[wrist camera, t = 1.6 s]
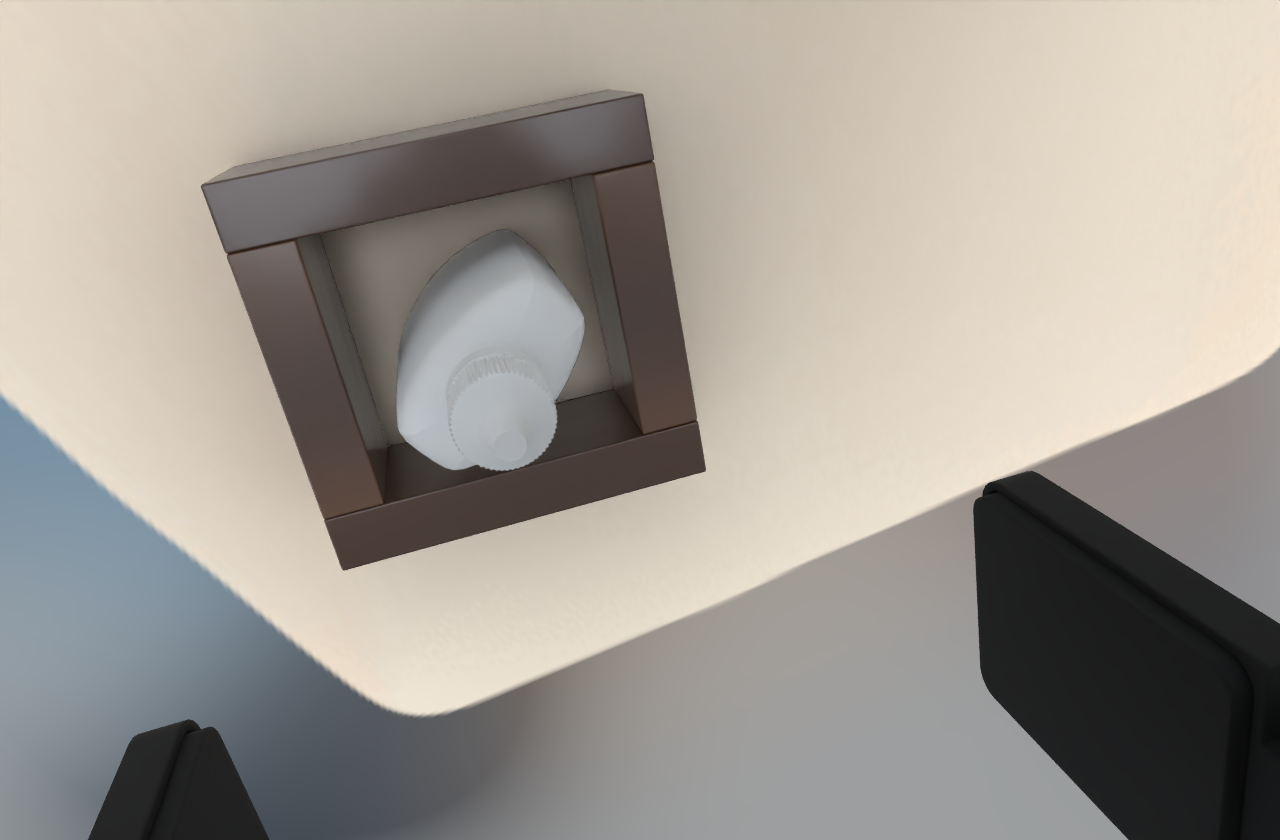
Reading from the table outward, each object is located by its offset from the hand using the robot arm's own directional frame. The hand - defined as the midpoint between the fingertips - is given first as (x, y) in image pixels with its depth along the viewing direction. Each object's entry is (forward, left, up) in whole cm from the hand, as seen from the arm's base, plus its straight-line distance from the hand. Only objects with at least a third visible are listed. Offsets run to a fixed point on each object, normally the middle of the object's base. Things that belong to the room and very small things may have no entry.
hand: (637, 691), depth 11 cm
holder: (0, -1, -21) cm, 21 cm away
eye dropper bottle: (0, -1, -21) cm, 21 cm away
